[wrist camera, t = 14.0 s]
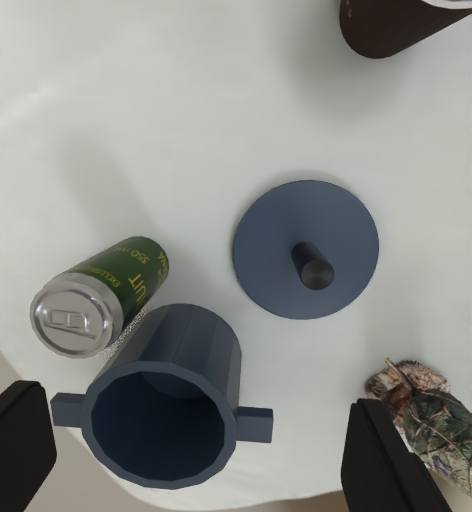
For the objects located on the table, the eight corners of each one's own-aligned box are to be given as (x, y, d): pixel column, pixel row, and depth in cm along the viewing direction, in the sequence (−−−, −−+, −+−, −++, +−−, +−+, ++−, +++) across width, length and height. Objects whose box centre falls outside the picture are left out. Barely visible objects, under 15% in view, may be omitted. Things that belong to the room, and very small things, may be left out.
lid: (236, 176, 26) (231, 178, 20) (385, 183, 26) (429, 187, 19) (231, 309, 30) (225, 348, 23) (362, 318, 29) (392, 359, 23)
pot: (100, 298, 30) (34, 353, 21) (271, 309, 30) (279, 370, 20) (109, 395, 34) (55, 479, 24) (263, 407, 33) (267, 498, 24)
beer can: (115, 284, 30) (28, 355, 18) (116, 231, 28) (22, 272, 17) (169, 291, 30) (115, 367, 18) (172, 238, 28) (116, 285, 17)
